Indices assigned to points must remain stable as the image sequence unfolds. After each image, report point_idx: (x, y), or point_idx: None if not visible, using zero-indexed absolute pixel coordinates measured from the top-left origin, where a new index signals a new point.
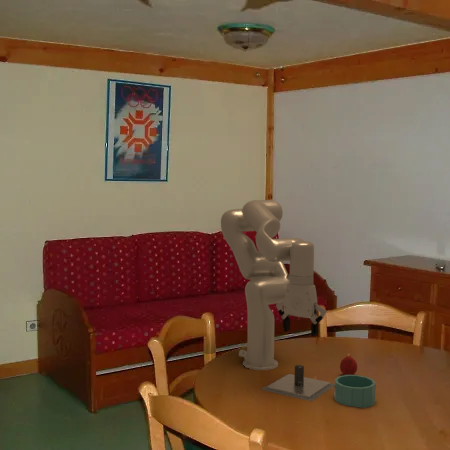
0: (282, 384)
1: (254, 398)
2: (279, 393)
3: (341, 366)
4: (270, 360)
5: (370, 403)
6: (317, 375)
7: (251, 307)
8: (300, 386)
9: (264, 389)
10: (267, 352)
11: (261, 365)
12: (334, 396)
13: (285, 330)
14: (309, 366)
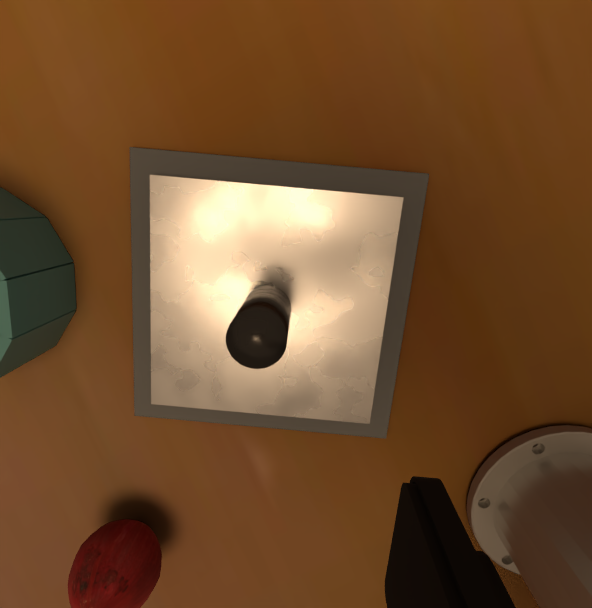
0: (342, 268)
1: (415, 44)
2: (317, 167)
3: (137, 548)
4: (511, 510)
5: None
6: (262, 492)
7: None
8: (249, 285)
9: (410, 184)
10: (552, 533)
11: (539, 463)
12: (62, 255)
13: (414, 487)
14: (337, 575)
